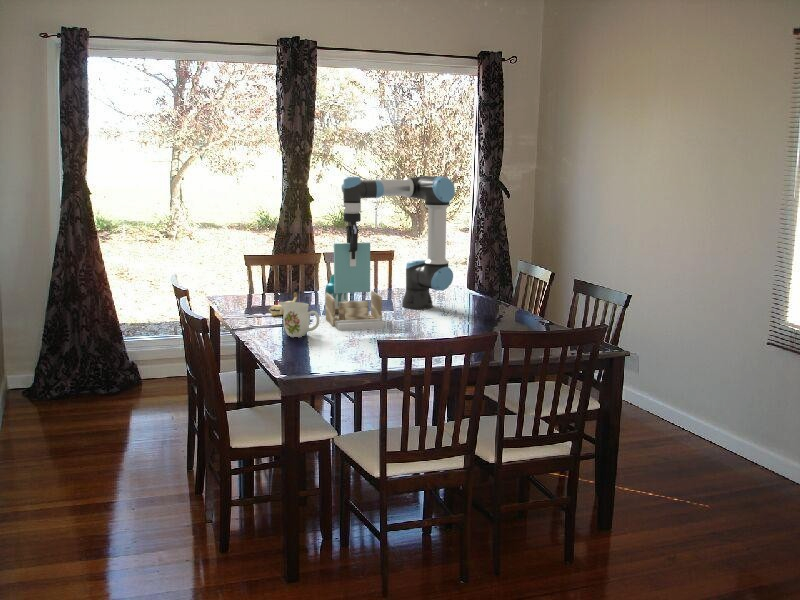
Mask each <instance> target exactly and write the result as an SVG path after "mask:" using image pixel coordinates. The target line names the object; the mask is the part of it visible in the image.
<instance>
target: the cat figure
mask: <svg viewBox="0 0 800 600" xmlns="http://www.w3.org/2000/svg"><path fill="white" fill-rule="evenodd" d="M297 299H298V294H297V292H293V299H292V300H287V301H286V302H297ZM278 302H281V301H280V300H278V301H276V302H275V304H273V305H271V306H270V308H268V311H269V312H270V314H271V315H272V316H274V317H275V316H281V315H284V309H283V307H282V306H281V305H280V304H279V303H278Z"/></svg>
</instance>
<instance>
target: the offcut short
mask: <svg viewBox="0 0 800 600" xmlns="http://www.w3.org/2000/svg"><path fill="white" fill-rule="evenodd" d="M361 319H368V308H367V307H355V308H344V320H361Z"/></svg>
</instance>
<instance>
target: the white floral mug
mask: <svg viewBox="0 0 800 600" xmlns="http://www.w3.org/2000/svg"><path fill="white" fill-rule="evenodd" d="M277 302H278V303H277V304H280V305H281V306H282V307H283V309H284V315H283V316H282V321H283V328H284V330H285V333H286V334H287V336H288V337H289V336H290V338H294V337H298V338H303V337H302V336H304V337H305V335H306V334H307V333H309V332H312V331H315V330H316V329H317V328H318V327H319V325H320V321H321V320H320V315H319V313H318V312H317V310H311V311H309V308H310V304H309V303H306V302H300V301H299V302H298V301H295V302H287V301H280V302H279V301H277ZM313 314H314V315H315V317H316V322H315V324H314V325H313V326H312V327H310V322H311V321H310V320H311V317H310V315H313Z"/></svg>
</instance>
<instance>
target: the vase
mask: <svg viewBox="0 0 800 600" xmlns="http://www.w3.org/2000/svg"><path fill="white" fill-rule="evenodd" d="M329 280H330V281H329V282H328V283H327V284H326V285H325V292H324V305H325V307H326V293H329V294H330V295H331V296H332V297H333V298H334V299H335V315H339V302H348V301H349V293H336V294H335V293H334V273H333V274H330V279H329Z"/></svg>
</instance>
